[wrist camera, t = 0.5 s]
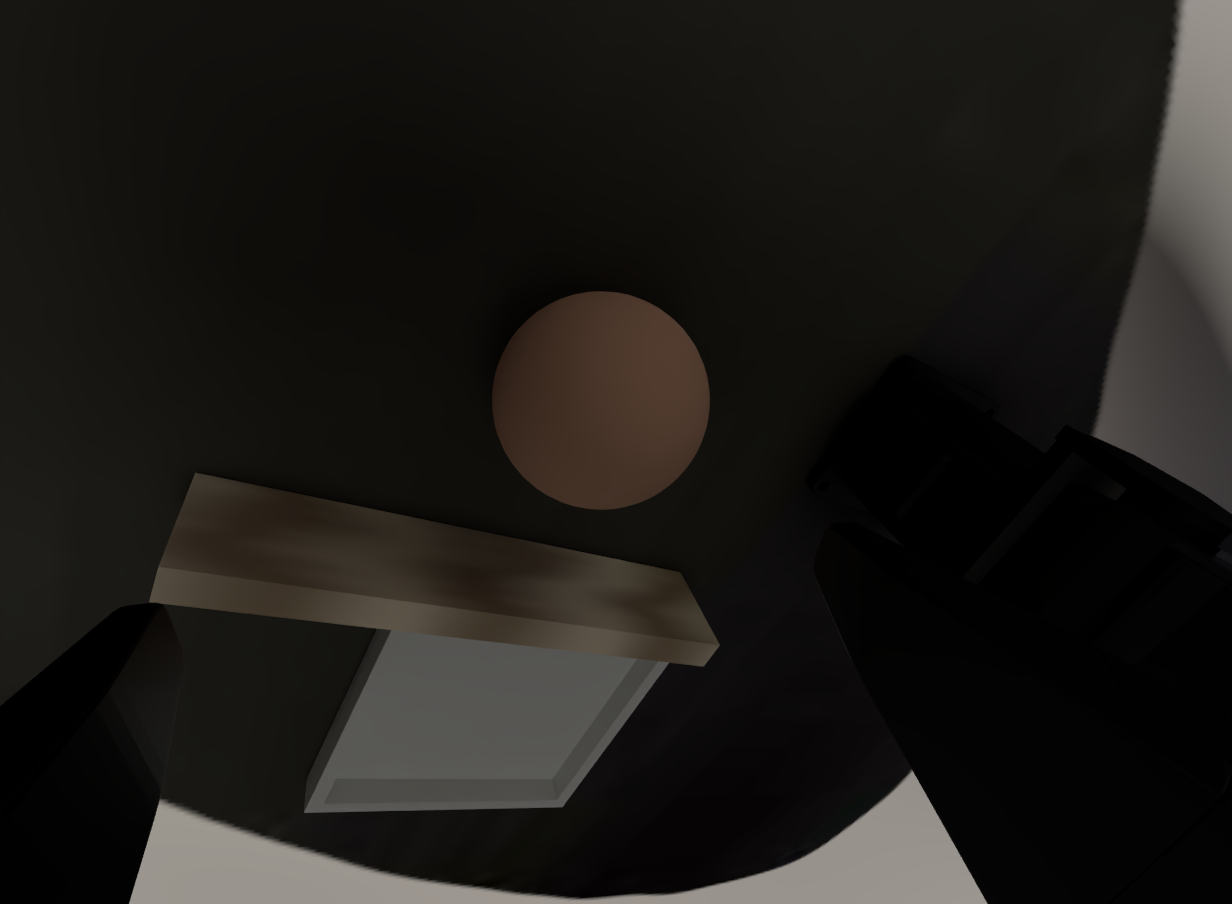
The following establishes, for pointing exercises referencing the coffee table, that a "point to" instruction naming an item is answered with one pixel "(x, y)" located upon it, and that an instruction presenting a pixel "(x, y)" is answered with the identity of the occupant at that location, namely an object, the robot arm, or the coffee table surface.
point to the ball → (600, 400)
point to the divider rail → (418, 577)
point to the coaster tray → (471, 725)
